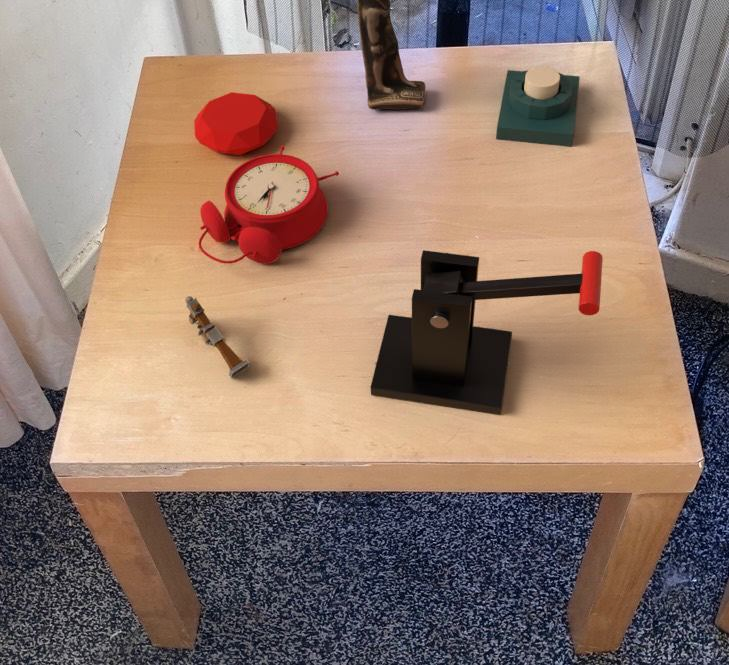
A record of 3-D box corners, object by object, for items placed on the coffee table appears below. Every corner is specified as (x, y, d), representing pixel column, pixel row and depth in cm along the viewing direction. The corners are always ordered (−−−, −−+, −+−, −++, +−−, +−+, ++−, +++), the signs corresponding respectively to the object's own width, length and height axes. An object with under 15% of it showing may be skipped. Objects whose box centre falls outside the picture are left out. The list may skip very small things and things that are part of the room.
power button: (559, 81, 92) (561, 67, 91) (556, 101, 90) (558, 88, 88) (525, 78, 93) (527, 64, 91) (522, 98, 90) (523, 85, 89)
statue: (425, 113, 95) (427, -62, 79) (362, 115, 95) (351, -59, 79) (425, 90, 97) (426, -84, 81) (363, 91, 98) (352, -82, 82)
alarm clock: (353, 170, 84) (252, 236, 75) (348, 222, 88) (252, 291, 79) (272, 133, 88) (167, 191, 79) (271, 185, 92) (171, 246, 83)
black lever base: (511, 339, 75) (524, 247, 66) (500, 415, 71) (513, 328, 61) (388, 322, 77) (385, 231, 68) (370, 395, 72) (363, 308, 63)
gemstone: (196, 114, 96) (190, 92, 94) (274, 103, 97) (271, 81, 95) (199, 167, 91) (193, 145, 89) (282, 155, 92) (278, 133, 89)
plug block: (577, 88, 96) (582, 62, 93) (571, 146, 90) (576, 120, 87) (506, 82, 97) (508, 55, 95) (495, 139, 91) (498, 112, 89)
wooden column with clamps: (194, 305, 78) (196, 288, 74) (245, 375, 77) (250, 361, 73) (177, 316, 77) (178, 298, 73) (228, 386, 76) (232, 372, 72)
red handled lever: (604, 267, 64) (600, 245, 62) (601, 319, 61) (597, 297, 59) (437, 280, 69) (429, 259, 67) (427, 328, 66) (418, 308, 64)
